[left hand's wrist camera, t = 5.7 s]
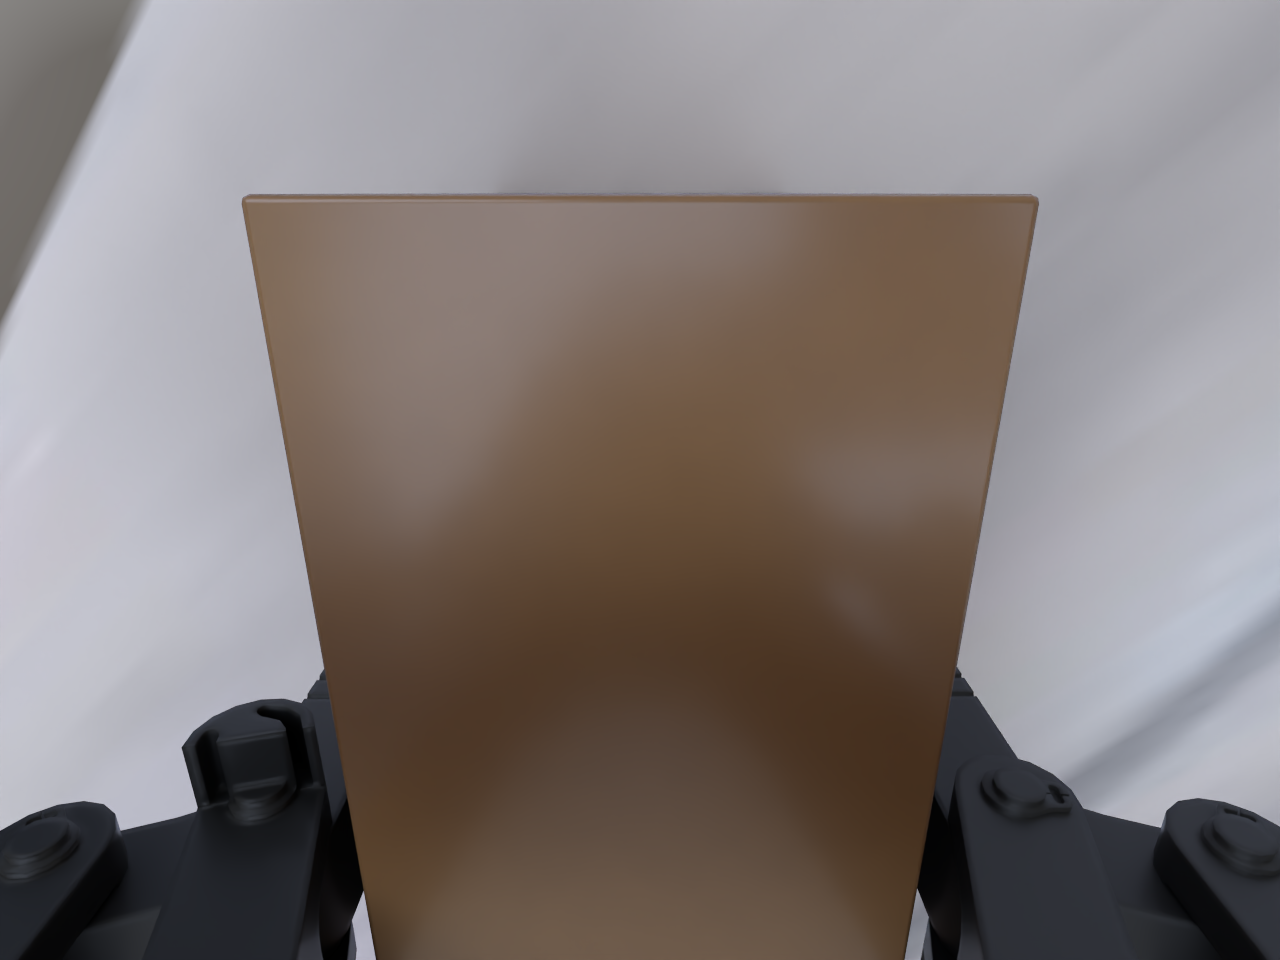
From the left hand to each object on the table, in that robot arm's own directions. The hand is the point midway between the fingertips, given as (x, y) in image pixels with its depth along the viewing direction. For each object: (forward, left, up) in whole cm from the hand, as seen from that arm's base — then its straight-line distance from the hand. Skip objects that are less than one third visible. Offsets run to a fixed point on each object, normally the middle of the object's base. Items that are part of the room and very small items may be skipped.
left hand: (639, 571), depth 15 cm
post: (-12, +20, -1) cm, 23 cm away
